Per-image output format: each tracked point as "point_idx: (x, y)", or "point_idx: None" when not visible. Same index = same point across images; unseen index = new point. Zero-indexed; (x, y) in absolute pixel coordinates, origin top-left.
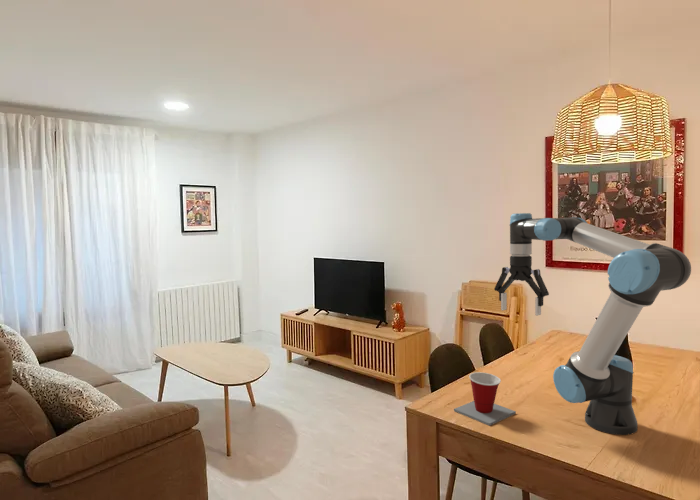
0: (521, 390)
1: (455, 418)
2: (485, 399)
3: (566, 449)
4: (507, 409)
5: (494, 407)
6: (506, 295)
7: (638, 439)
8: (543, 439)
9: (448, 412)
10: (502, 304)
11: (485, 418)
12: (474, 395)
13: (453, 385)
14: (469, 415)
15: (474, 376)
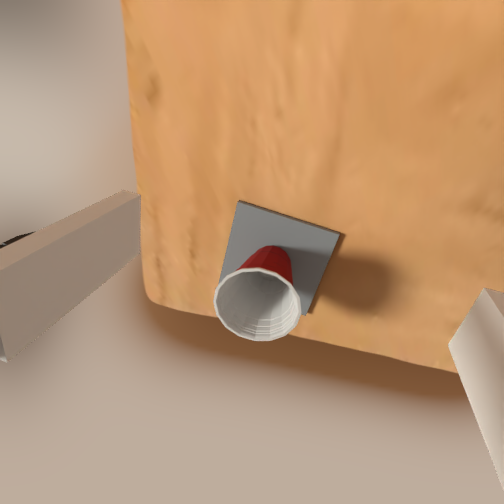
0: (313, 42)
1: None
2: (277, 301)
3: None
4: (318, 233)
5: (287, 237)
6: (25, 259)
7: None
8: (419, 322)
9: (214, 292)
10: (103, 278)
11: None
12: (249, 298)
13: (137, 137)
14: None
15: (223, 288)
